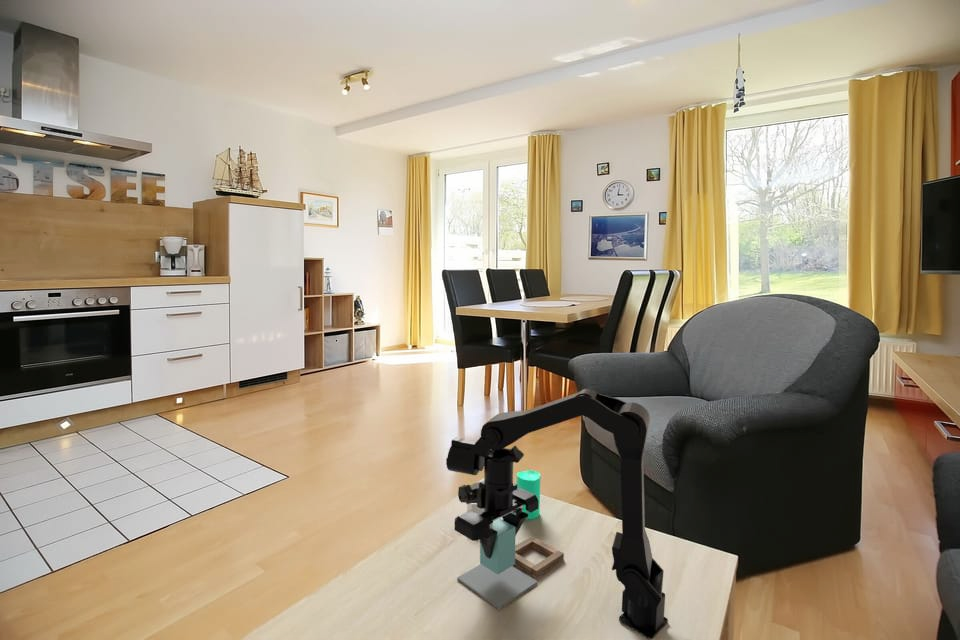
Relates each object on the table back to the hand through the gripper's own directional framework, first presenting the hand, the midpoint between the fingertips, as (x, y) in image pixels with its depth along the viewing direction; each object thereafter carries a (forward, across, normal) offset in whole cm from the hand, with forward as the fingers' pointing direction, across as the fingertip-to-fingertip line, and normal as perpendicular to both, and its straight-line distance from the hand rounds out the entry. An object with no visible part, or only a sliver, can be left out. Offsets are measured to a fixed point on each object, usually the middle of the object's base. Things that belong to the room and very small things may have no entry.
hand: (497, 552), depth 101 cm
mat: (+6, 0, 0) cm, 7 cm away
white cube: (+7, -14, -20) cm, 26 cm away
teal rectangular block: (+2, 0, 0) cm, 2 cm away
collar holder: (+6, -12, 0) cm, 13 cm away
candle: (+7, -26, -14) cm, 30 cm away
